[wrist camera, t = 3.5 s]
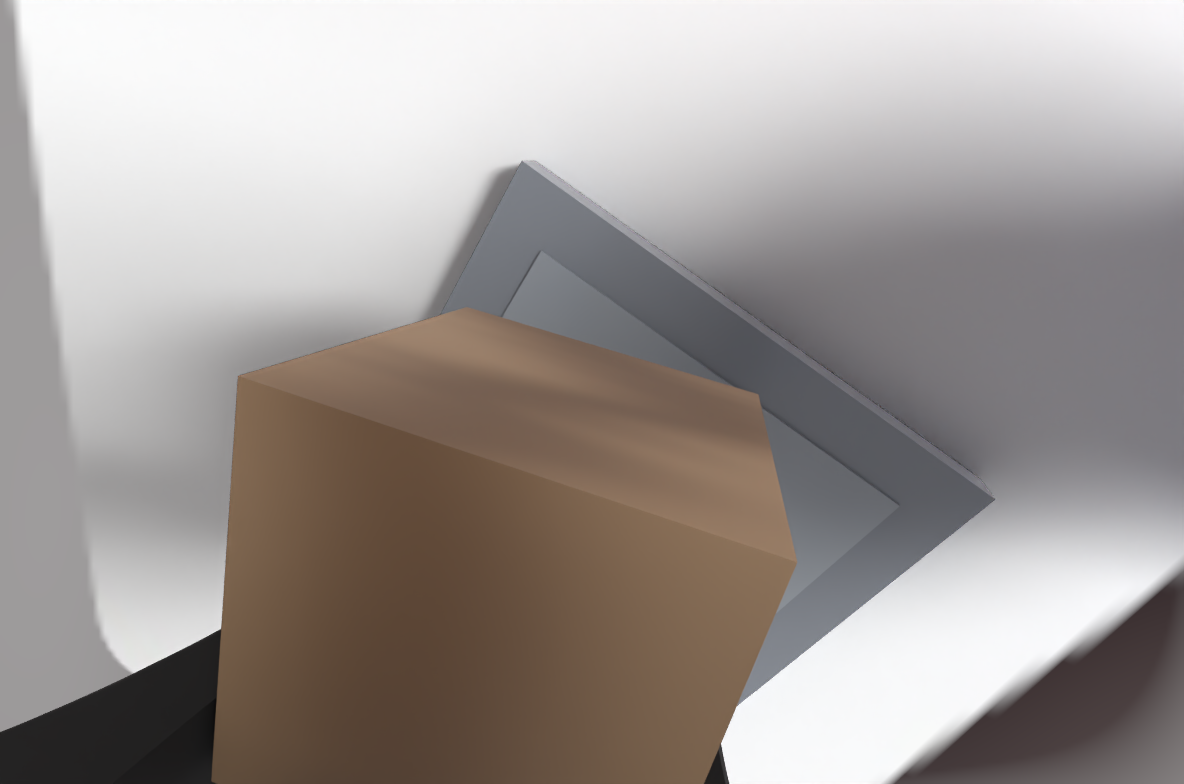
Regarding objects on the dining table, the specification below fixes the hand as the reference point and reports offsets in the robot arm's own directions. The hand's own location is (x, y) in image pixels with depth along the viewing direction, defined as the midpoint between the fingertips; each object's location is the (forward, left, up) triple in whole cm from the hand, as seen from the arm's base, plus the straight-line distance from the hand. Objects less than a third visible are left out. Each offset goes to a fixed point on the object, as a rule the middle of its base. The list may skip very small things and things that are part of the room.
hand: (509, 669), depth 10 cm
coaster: (-1, +2, -8) cm, 9 cm away
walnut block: (+1, -2, -2) cm, 3 cm away
